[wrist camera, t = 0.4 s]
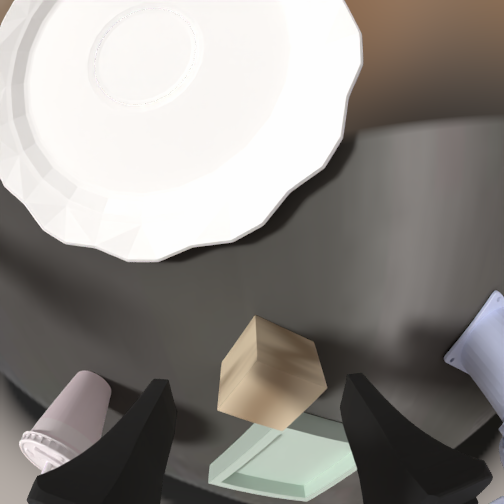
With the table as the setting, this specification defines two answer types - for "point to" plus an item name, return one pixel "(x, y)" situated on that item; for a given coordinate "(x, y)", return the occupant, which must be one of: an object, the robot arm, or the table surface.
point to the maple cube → (270, 376)
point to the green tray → (286, 459)
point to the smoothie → (68, 423)
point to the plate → (169, 115)
